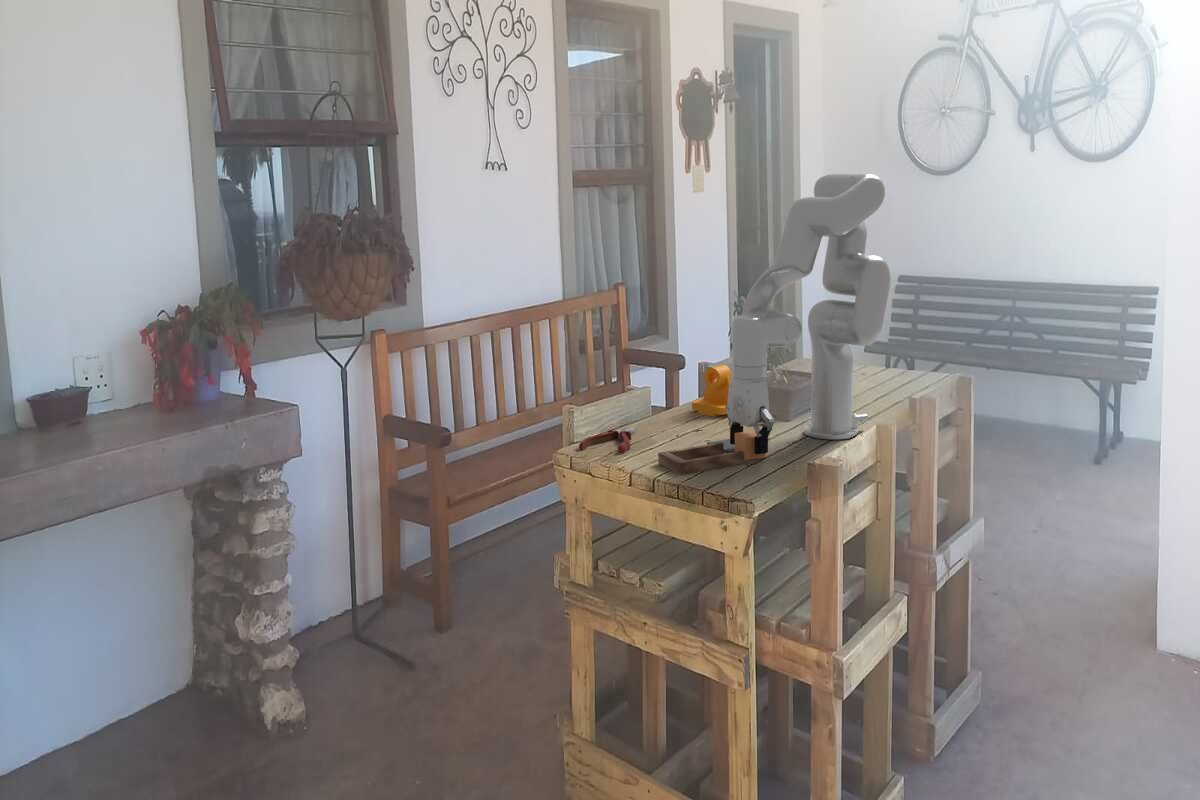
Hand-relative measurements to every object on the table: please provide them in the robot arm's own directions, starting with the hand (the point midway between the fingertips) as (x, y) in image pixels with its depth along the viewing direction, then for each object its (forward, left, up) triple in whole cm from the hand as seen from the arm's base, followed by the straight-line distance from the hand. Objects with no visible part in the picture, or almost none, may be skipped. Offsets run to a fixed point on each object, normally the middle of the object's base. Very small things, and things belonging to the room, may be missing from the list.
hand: (748, 448), depth 230 cm
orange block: (0, 0, -2) cm, 2 cm away
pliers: (+19, -25, -2) cm, 31 cm away
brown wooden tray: (+12, 0, -2) cm, 12 cm away
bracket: (-15, -38, -2) cm, 41 cm away
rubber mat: (-1, -8, -2) cm, 8 cm away
